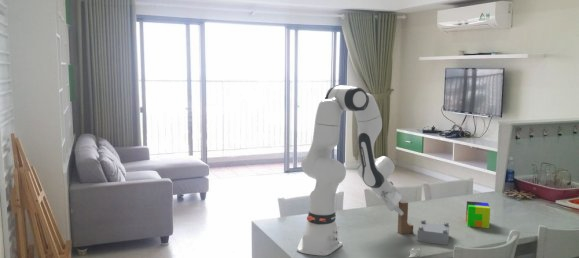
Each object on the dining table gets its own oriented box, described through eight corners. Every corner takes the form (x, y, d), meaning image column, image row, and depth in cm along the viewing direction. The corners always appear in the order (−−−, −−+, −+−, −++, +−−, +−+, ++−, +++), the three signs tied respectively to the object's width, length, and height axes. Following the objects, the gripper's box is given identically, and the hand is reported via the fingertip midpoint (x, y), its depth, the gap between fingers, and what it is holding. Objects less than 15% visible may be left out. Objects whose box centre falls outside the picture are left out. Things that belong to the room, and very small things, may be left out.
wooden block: (400, 234, 226) (402, 203, 224) (397, 231, 229) (398, 201, 227) (413, 233, 228) (414, 202, 226) (409, 230, 231) (411, 200, 229)
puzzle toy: (486, 221, 246) (487, 202, 244) (489, 228, 236) (490, 208, 235) (465, 220, 248) (466, 201, 247) (467, 226, 239) (468, 206, 237)
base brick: (447, 244, 213) (448, 231, 212) (417, 240, 217) (417, 227, 216) (448, 235, 225) (449, 222, 224) (420, 231, 229) (420, 219, 228)
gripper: (385, 190, 219) (406, 213, 217) (392, 180, 238) (411, 201, 236) (375, 199, 221) (396, 222, 219) (382, 188, 240) (402, 209, 238)
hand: (404, 211), depth 228 cm, fingers open, 8 cm apart
